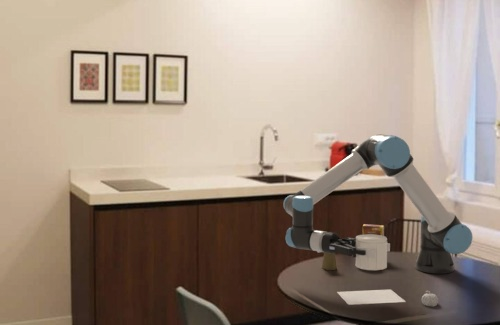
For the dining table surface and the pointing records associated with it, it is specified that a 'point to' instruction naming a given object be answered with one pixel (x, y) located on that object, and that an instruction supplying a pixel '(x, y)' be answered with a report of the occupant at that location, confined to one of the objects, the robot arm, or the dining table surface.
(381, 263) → the white container
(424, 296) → the garlic
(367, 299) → the white mat
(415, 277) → the dining table surface
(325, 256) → the cork
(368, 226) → the candy box
